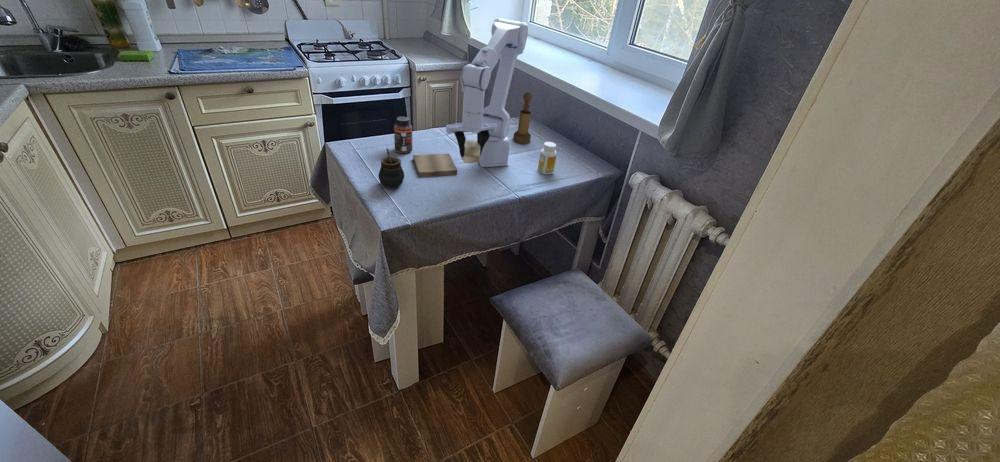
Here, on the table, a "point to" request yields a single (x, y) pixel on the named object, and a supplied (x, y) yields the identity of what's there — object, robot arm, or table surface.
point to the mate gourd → (391, 172)
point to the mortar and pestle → (524, 122)
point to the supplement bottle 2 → (547, 158)
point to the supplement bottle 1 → (403, 135)
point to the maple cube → (471, 152)
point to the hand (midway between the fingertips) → (470, 154)
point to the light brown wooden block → (434, 165)
